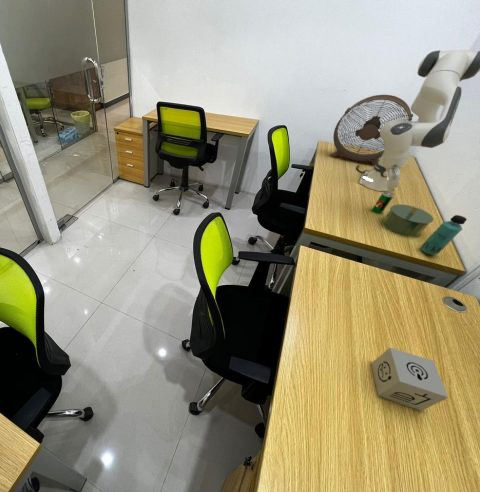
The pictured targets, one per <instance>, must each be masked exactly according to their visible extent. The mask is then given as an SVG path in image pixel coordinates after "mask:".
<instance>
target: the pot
mask: <svg viewBox="0 0 480 492" xmlns="http://www.w3.org/2000/svg"><path fill="white" fill-rule="evenodd" d="M382 226H384V227H385V228H386V229H387V230H388V231H390V232H392V233H395V234H397V235H400V236H403V237H413V238H414V237H418V236H421V234H422V233H423V231H424V230H425V229H426V228H427V227H428V226H429V224H418V223H413V222H409V221H406V220H403V219H401V218H399V217H397V216H396V215H394V214H393V213H392V212H391V210H389V211H388V213H387V214H386V215H385V217H384V219H382Z"/></svg>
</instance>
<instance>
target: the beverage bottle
mask: <svg viewBox="0 0 480 492" xmlns="http://www.w3.org/2000/svg"><path fill="white" fill-rule="evenodd" d="M467 221H468V220H467V218H466V216H463V215H459V214H455V215H453V216H452V217H450V219H449V220H446V221H443V222H441V224H440V225H439V227H437V229H435V231H433V232H432V233H431V234H430V236H428V238H427V239H426V240H425V241H424V242H423V243H422V244H421V245H420V250H421V251H422V252H423V253H426V254H428V255H430V256H431V255H433V256H435V255H438V254H440V253H441V251H443V250H444V249H445V248H446V247H447V246H448V245H449V244H450V242H452V241H453V239H454V238H456V237H457V235H458V234H459V233H460V232H461V231H462V230H463V226H462V225H464V224H465V223H466V222H467Z"/></svg>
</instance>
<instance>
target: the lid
mask: <svg viewBox="0 0 480 492" xmlns="http://www.w3.org/2000/svg"><path fill="white" fill-rule="evenodd" d="M389 209H390V210H391V212H392V213H393V214H394V215H396V216H397V217H399V218H401V219H403V220H406V221H409V222H413V223H418V224H428V225H430V224H431V223H433V221H434V217H433V215H431V214H430V213H429V212H427V211H425V210H424V209H422V208H420V207H418V206H416V205H415V206H413V205H409V204H399V203H398V204H393V205H392V206H391V207H390V208H389ZM390 210H389V211H390Z"/></svg>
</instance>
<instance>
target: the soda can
mask: <svg viewBox="0 0 480 492" xmlns="http://www.w3.org/2000/svg"><path fill="white" fill-rule="evenodd" d="M394 195H395V193H393V192H392V191H383V192H382V193H381V194H380V196H379V197H378V199H377V200H376V202H375V203H374V205H373V207H372V208H371V212H372V213H374V214H376V215H382V214H383V213H384V211H385V210H386V208H387V207H388V206H389V204H390V202H391V201H392V200H393V198H394Z"/></svg>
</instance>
